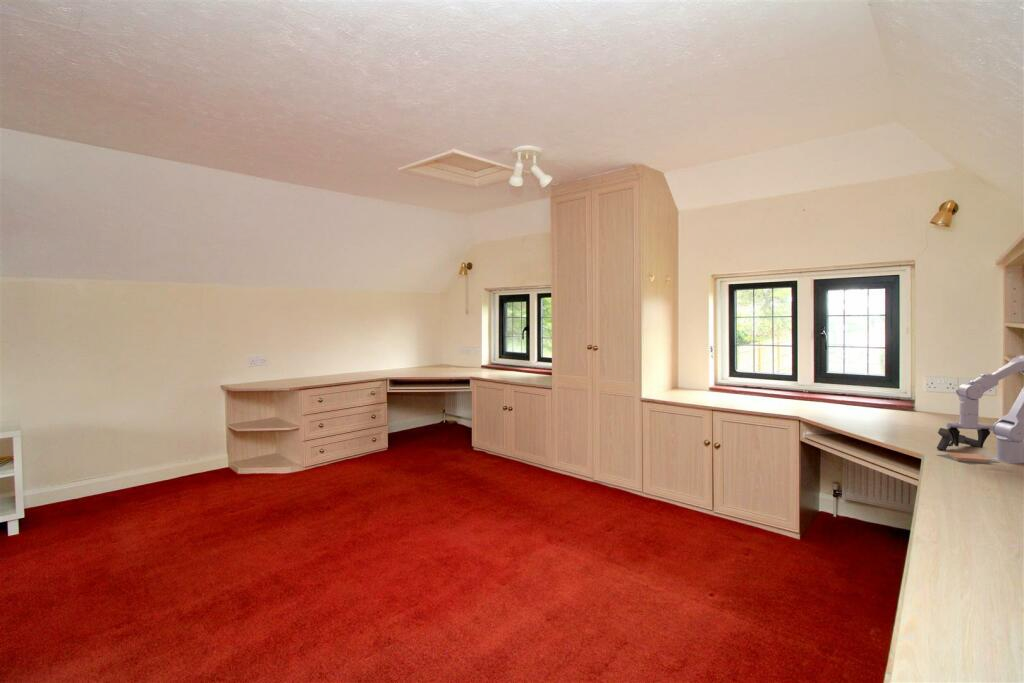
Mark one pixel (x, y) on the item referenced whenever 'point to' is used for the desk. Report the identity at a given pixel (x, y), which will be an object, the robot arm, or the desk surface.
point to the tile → (968, 457)
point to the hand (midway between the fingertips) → (968, 446)
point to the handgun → (947, 438)
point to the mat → (966, 462)
